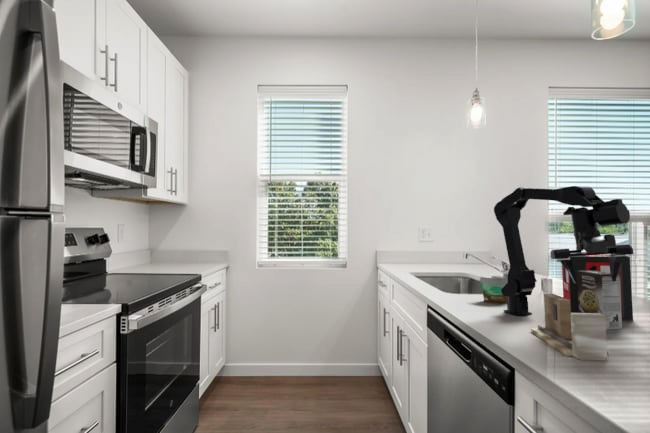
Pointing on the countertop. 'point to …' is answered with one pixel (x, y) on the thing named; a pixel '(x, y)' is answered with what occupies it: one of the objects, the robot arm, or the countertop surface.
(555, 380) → the countertop surface
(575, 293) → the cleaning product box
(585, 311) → the coffee box
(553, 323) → the door
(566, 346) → the track
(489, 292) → the food container
